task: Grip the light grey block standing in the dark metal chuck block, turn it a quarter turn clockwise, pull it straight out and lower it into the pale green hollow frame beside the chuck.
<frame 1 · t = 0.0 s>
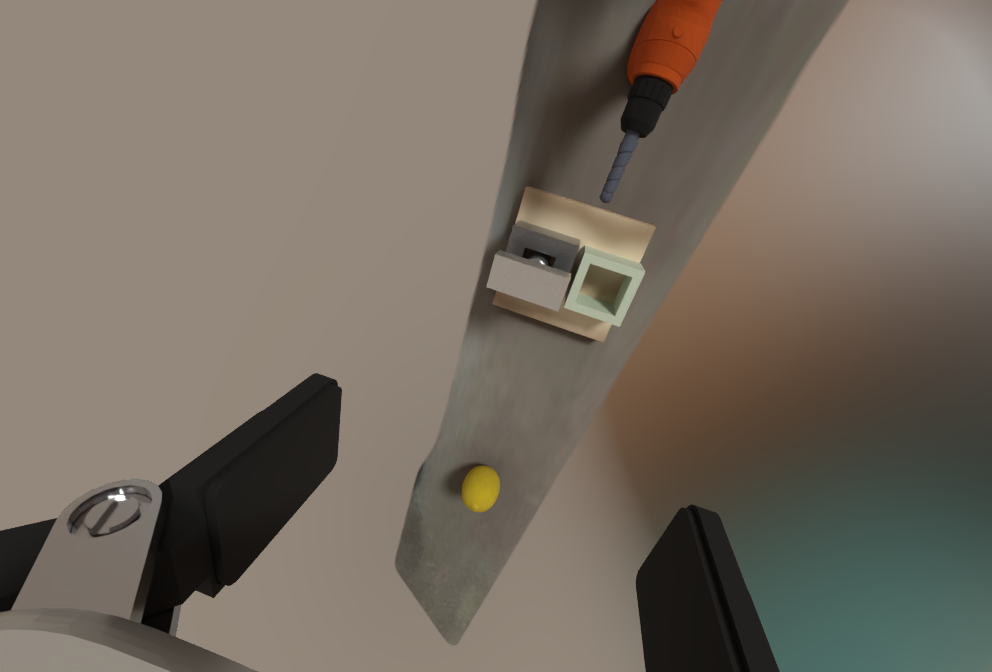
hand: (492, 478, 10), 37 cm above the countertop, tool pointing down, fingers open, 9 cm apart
toy drill: (638, 100, 37), on the countertop
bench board: (567, 265, 44), on the countertop
chuck block: (537, 263, 41), on the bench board, point 4 cm above the countertop
lemon: (487, 467, 60), on the countertop
light grey block: (534, 270, 38), in the chuck block, point 7 cm above the countertop, touching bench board
pale green hollow frame: (601, 280, 42), resting on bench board
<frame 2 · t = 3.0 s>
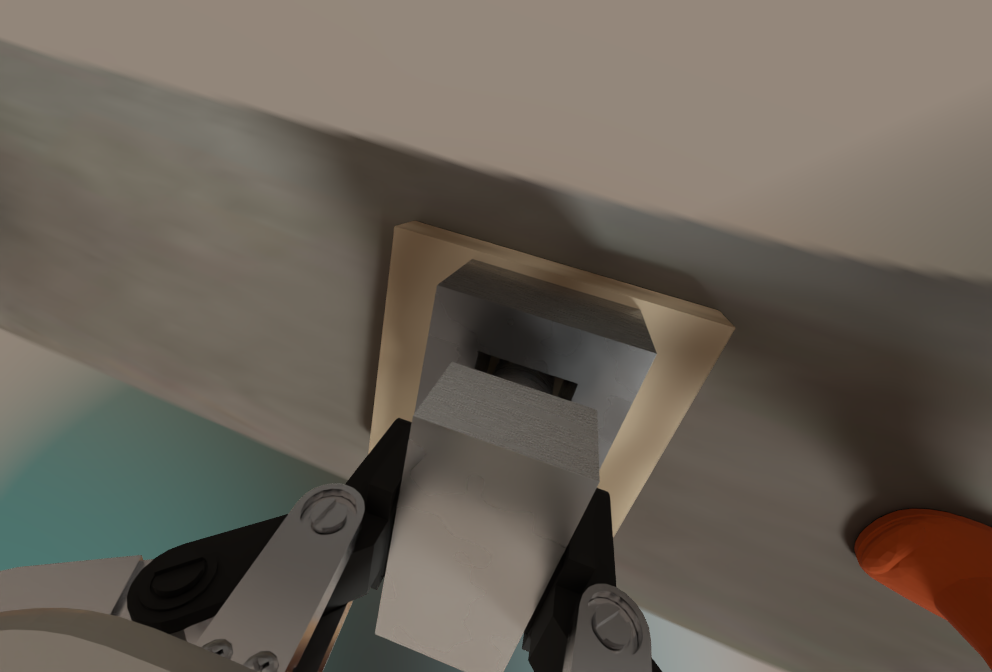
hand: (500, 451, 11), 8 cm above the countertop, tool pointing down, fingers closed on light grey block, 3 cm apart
toy drill: (848, 517, 19), on the countertop
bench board: (518, 392, 20), on the countertop
chuck block: (523, 379, 15), on the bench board, point 4 cm above the countertop
light grey block: (508, 425, 12), in the chuck block, point 7 cm above the countertop, touching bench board, gripper
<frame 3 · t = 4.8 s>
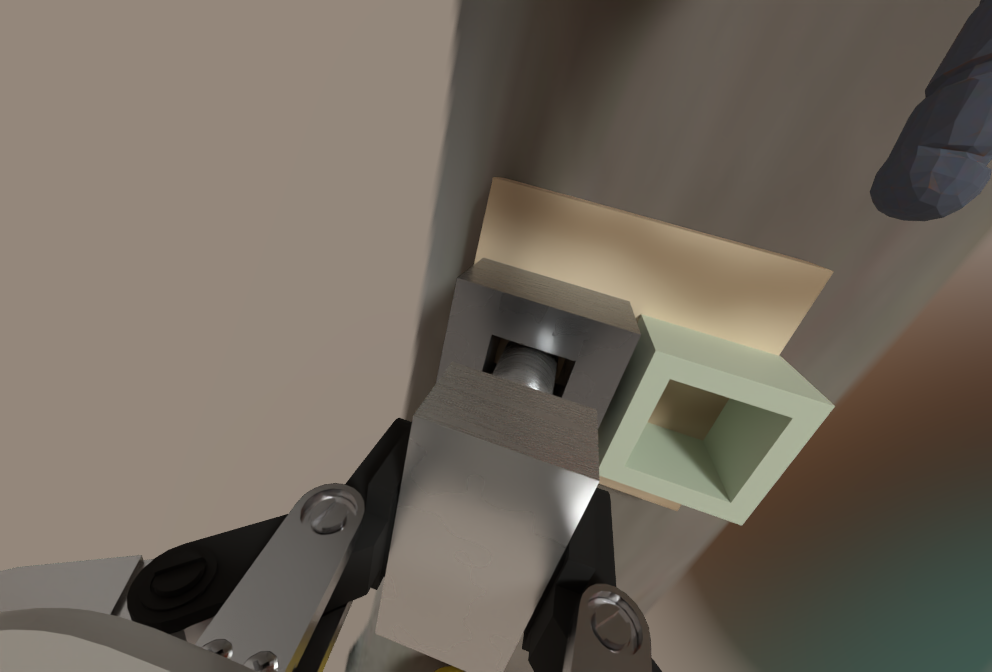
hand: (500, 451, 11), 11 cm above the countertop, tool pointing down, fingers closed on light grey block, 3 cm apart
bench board: (595, 348, 20), on the countertop
chuck block: (528, 362, 17), on the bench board, point 4 cm above the countertop
lemon: (458, 660, 35), on the countertop
light grey block: (509, 425, 12), point 9 cm above the countertop, touching gripper
pale green hollow frame: (678, 391, 18), resting on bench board
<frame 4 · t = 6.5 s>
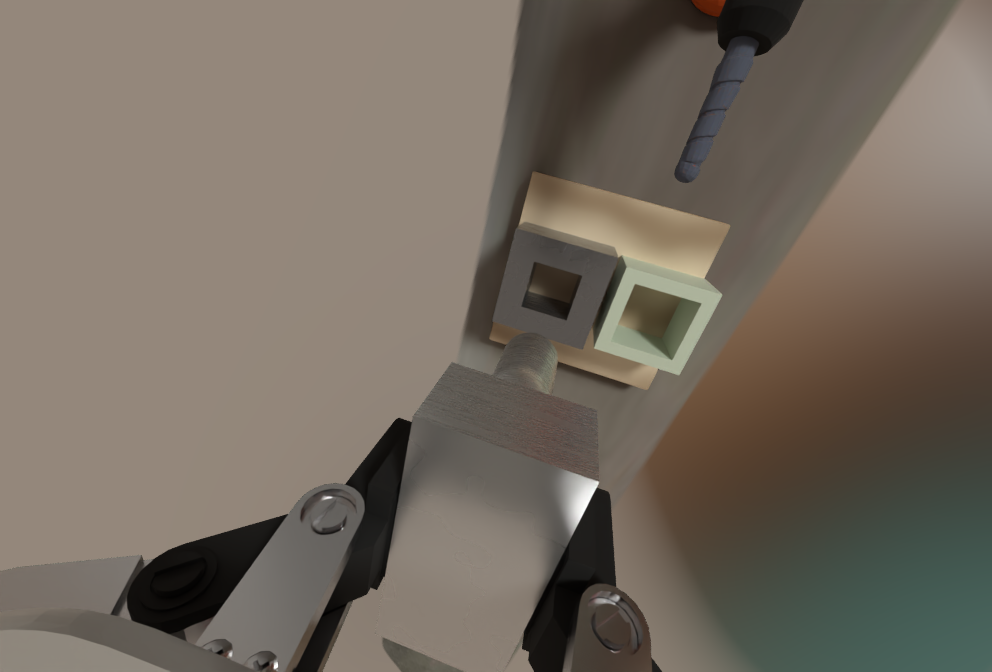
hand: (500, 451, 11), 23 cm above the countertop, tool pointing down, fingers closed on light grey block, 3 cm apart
toy drill: (703, 31, 24), on the countertop
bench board: (594, 282, 31), on the countertop
chuck block: (553, 284, 28), on the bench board, point 4 cm above the countertop
light grey block: (508, 426, 12), point 22 cm above the countertop, touching gripper
pale green hollow frame: (645, 304, 29), resting on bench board
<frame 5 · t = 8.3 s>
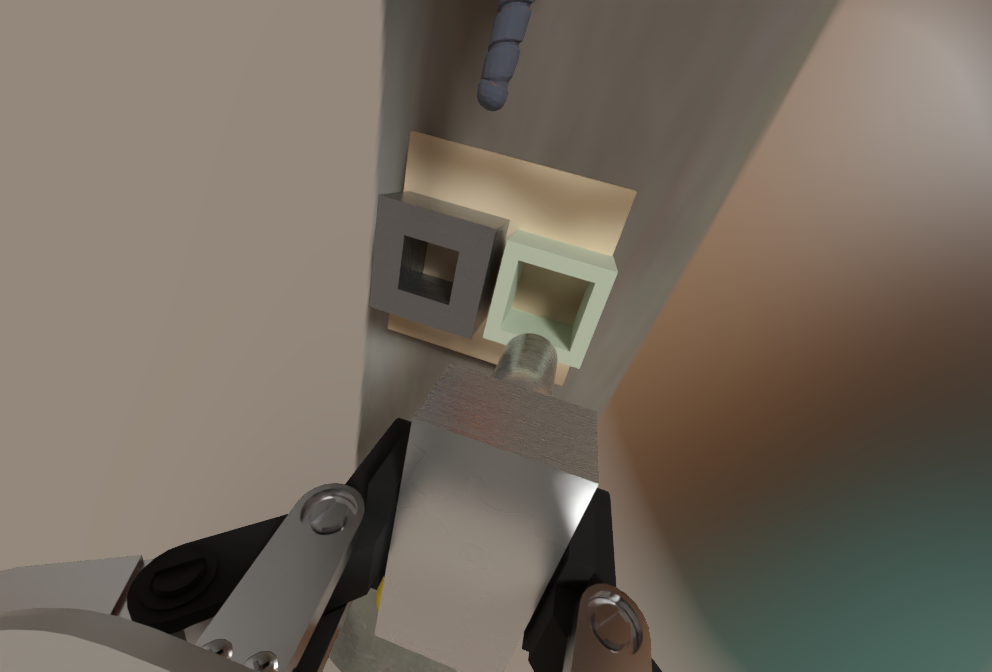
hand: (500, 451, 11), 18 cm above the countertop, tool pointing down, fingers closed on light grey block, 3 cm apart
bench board: (499, 263, 27), on the countertop
chuck block: (439, 263, 24), on the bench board, point 4 cm above the countertop
light grey block: (508, 426, 12), point 17 cm above the countertop, touching gripper
pale green hollow frame: (551, 287, 25), resting on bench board
when the fingers open (9 cm above the countertop, at t = 10.1 s): light grey block stays where it is, resting on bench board.
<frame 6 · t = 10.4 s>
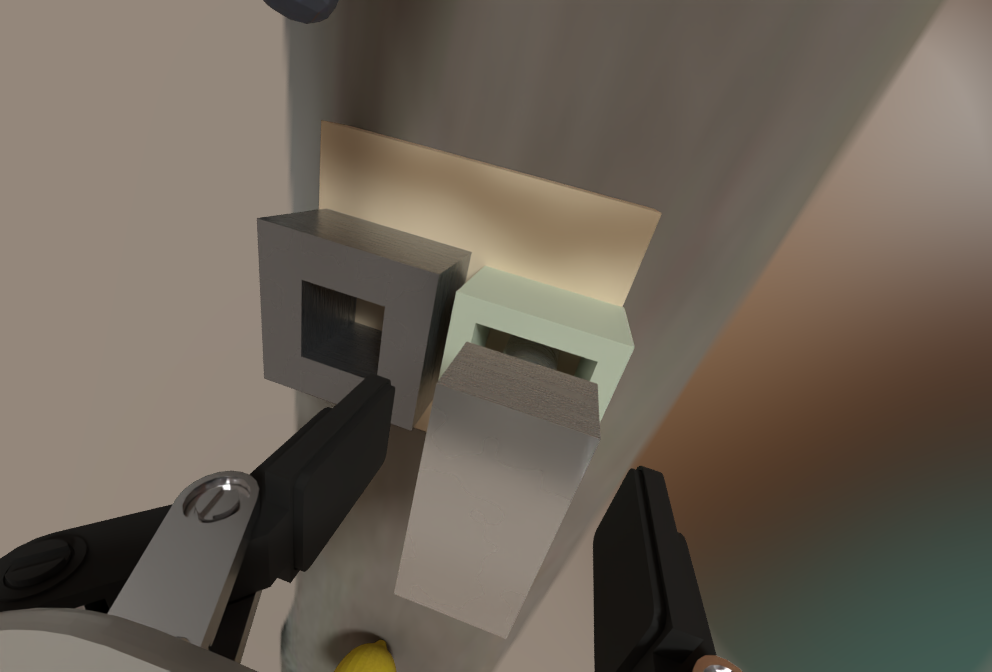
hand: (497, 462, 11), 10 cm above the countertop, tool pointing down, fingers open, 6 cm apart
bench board: (463, 307, 20), on the countertop
chuck block: (367, 315, 16), on the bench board, point 4 cm above the countertop
lemon: (383, 638, 35), on the countertop
light grey block: (514, 407, 13), in the pale green hollow frame, point 7 cm above the countertop, touching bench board
pale green hollow frame: (533, 347, 17), resting on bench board
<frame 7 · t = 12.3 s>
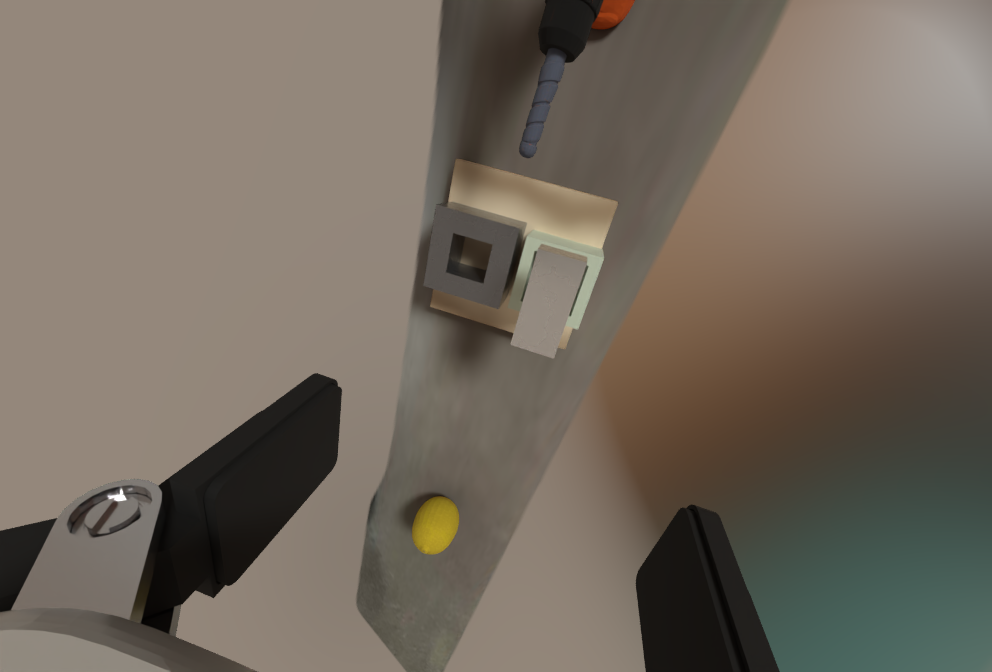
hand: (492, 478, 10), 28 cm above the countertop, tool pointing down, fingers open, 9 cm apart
toy drill: (588, 41, 29), on the countertop
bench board: (517, 256, 36), on the countertop
chuck block: (475, 254, 33), on the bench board, point 4 cm above the countertop
lemon: (447, 497, 51), on the countertop
light grey block: (552, 287, 29), in the pale green hollow frame, point 7 cm above the countertop, touching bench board
pale green hollow frame: (556, 272, 34), resting on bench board
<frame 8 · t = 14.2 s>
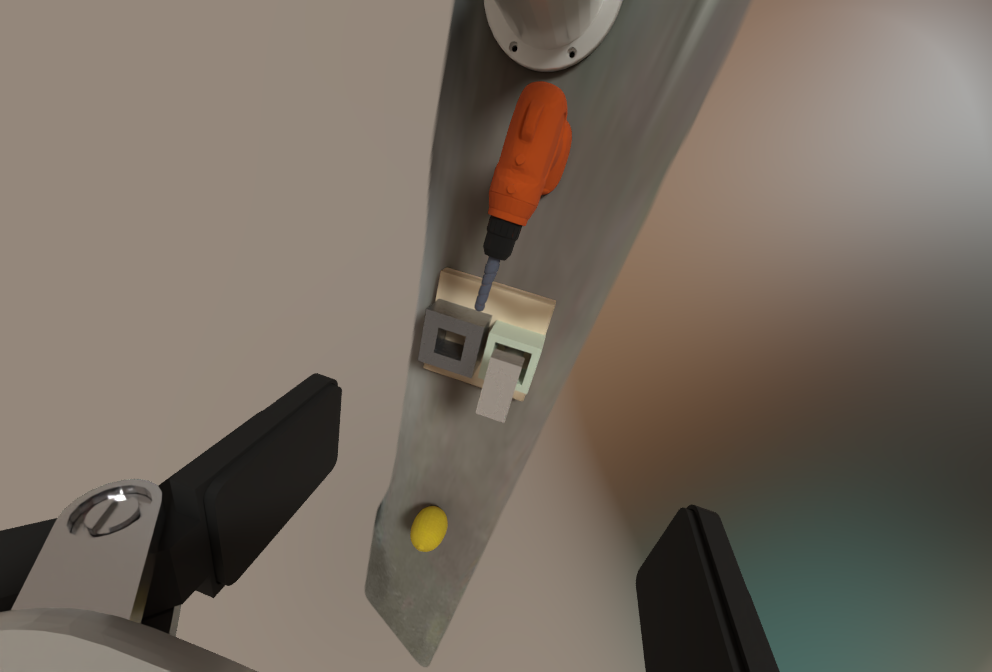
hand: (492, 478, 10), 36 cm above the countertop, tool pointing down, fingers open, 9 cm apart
toy drill: (531, 198, 42), on the countertop
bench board: (487, 333, 49), on the countertop
chuck block: (455, 337, 46), on the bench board, point 4 cm above the countertop
lemon: (438, 506, 64), on the countertop
light grey block: (507, 368, 42), in the pale green hollow frame, point 7 cm above the countertop, touching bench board
pale green hollow frame: (514, 349, 47), resting on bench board
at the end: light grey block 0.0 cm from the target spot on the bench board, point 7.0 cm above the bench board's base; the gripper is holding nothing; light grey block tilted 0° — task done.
